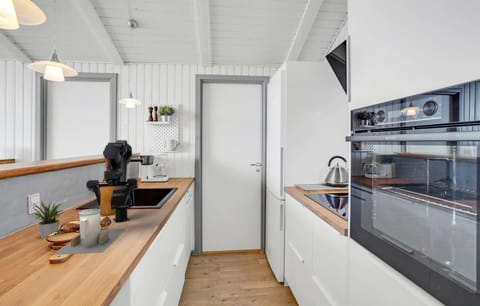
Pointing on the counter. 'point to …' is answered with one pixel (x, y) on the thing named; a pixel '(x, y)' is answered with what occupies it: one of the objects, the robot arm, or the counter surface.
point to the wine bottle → (106, 198)
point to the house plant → (48, 219)
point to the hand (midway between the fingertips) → (112, 204)
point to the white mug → (89, 227)
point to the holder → (104, 242)
